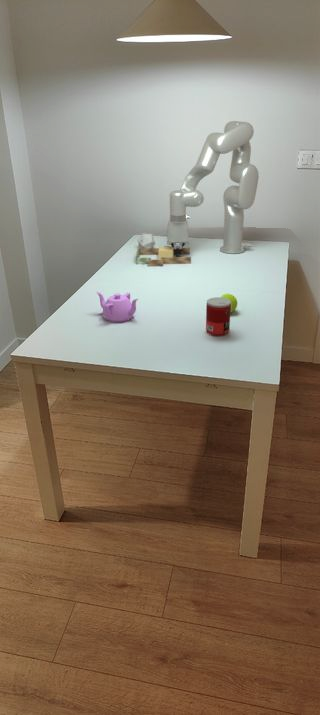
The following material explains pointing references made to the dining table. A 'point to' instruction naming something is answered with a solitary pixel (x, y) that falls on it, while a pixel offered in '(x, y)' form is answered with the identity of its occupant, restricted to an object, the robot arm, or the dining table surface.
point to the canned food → (218, 316)
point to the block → (166, 252)
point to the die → (146, 241)
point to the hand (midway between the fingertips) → (177, 256)
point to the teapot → (118, 307)
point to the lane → (163, 259)
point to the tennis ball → (233, 301)
